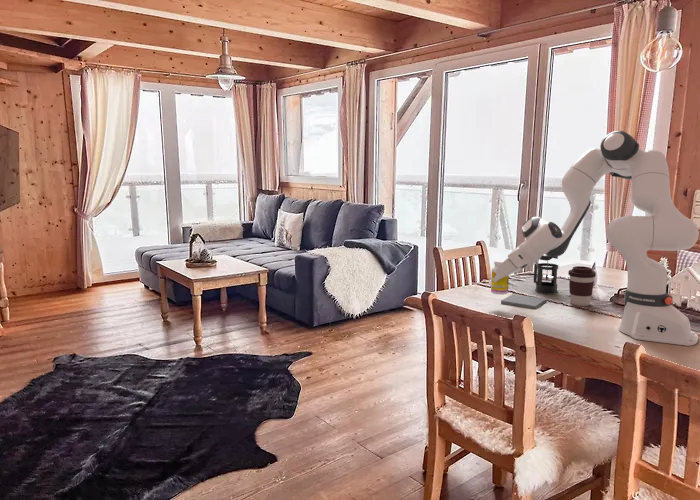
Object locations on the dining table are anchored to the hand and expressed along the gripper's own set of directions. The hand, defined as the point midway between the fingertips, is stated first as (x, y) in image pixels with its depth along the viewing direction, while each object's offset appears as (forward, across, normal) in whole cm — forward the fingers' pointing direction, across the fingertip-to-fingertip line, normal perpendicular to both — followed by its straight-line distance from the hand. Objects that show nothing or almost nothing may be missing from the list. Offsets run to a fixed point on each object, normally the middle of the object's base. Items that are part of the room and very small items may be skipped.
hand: (498, 278), depth 197 cm
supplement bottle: (+4, 0, +4) cm, 6 cm away
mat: (+4, -14, +12) cm, 19 cm away
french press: (+4, -38, +13) cm, 40 cm away
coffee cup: (-9, -25, +26) cm, 37 cm away
